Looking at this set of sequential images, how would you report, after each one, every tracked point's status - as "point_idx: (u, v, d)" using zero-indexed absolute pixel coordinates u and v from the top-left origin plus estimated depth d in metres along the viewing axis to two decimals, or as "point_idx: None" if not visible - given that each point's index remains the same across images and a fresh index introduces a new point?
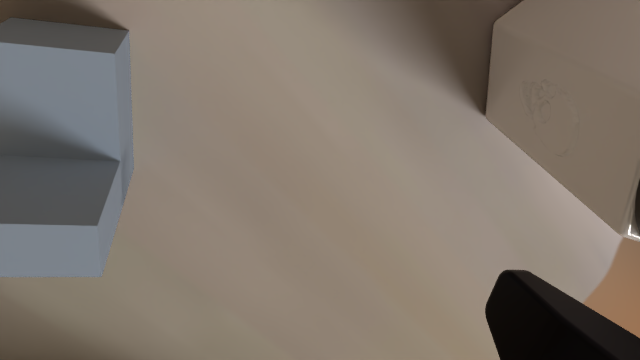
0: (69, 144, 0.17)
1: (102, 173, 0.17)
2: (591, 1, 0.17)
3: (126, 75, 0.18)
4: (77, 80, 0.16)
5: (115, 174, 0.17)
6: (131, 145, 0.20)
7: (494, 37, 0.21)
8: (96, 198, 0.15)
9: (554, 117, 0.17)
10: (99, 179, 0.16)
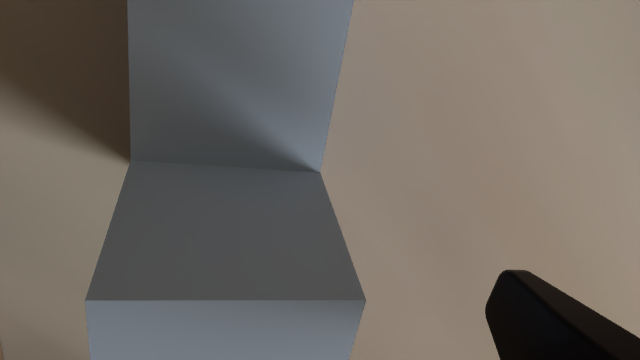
0: (248, 144, 0.10)
1: (307, 193, 0.10)
2: None
3: None
4: (283, 31, 0.09)
5: (327, 195, 0.10)
6: None
7: None
8: (327, 241, 0.09)
9: None
10: (310, 204, 0.10)
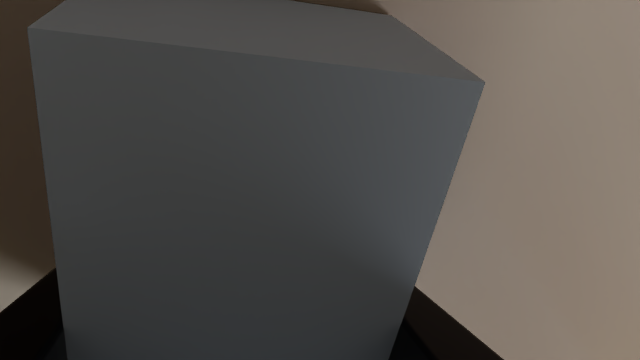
0: (273, 334, 0.06)
1: None
2: None
3: None
4: (345, 166, 0.05)
5: None
6: None
7: None
8: None
9: None
10: None
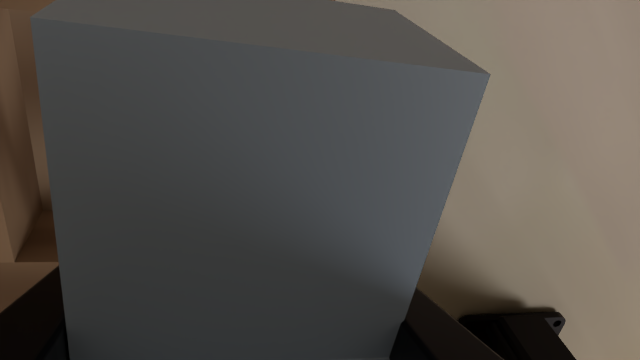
0: (276, 329, 0.06)
1: None
2: None
3: None
4: (349, 159, 0.05)
5: None
6: None
7: None
8: None
9: None
10: None
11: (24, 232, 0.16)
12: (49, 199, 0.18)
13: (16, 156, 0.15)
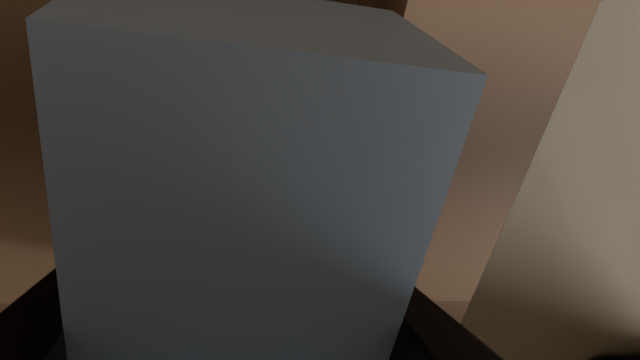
0: (273, 331, 0.06)
1: None
2: None
3: None
4: (346, 160, 0.05)
5: None
6: None
7: None
8: None
9: None
10: None
11: None
12: None
13: None
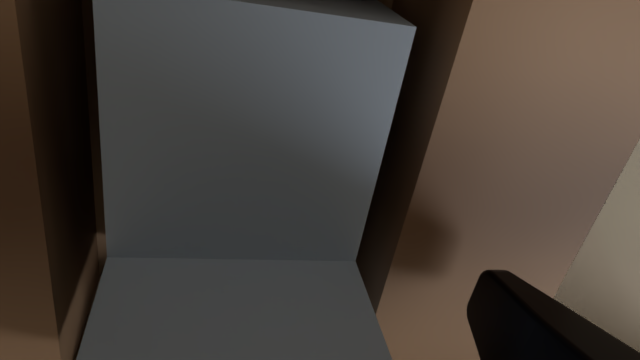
0: (263, 231, 0.08)
1: (343, 300, 0.07)
2: None
3: None
4: (315, 90, 0.07)
5: (368, 300, 0.08)
6: None
7: None
8: None
9: None
10: (348, 320, 0.07)
11: (78, 327, 0.09)
12: None
13: (75, 199, 0.09)
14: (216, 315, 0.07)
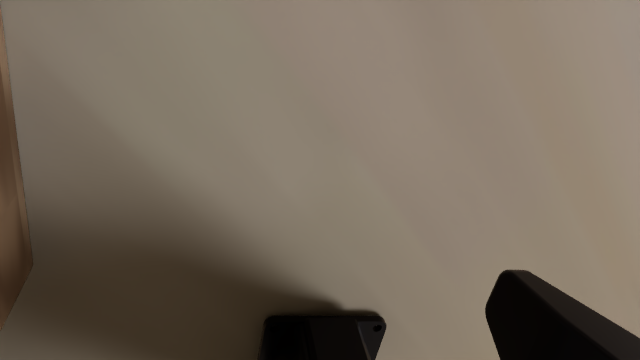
0: None
1: None
2: None
3: None
4: None
5: None
6: None
7: None
8: None
9: None
10: None
11: None
12: None
13: None
14: None
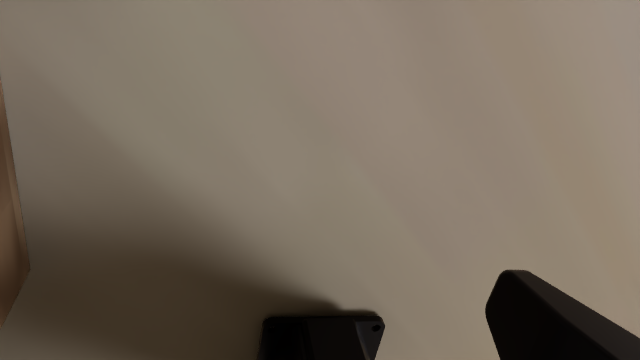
0: None
1: None
2: None
3: None
4: None
5: None
6: None
7: None
8: None
9: None
10: None
11: None
12: None
13: None
14: None
